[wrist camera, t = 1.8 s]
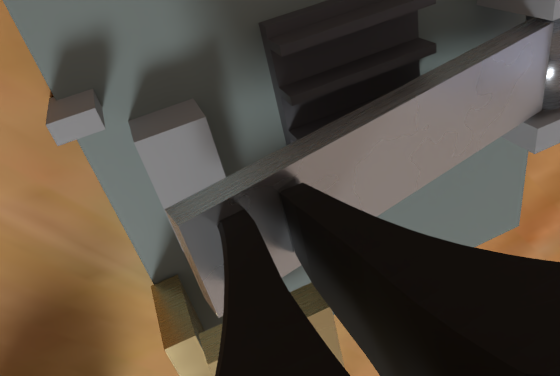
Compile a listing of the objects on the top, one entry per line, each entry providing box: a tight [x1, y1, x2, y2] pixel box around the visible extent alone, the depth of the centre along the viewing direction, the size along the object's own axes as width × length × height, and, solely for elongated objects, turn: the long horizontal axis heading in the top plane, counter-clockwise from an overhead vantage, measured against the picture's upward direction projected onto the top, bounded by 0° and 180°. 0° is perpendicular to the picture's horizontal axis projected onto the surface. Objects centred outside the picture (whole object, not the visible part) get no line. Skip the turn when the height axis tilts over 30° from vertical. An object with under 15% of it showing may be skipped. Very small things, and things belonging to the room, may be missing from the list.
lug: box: [151, 274, 344, 376], centre depth 16 cm, size 5×5×4 cm
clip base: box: [3, 0, 560, 331], centre depth 15 cm, size 17×18×4 cm
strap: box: [165, 15, 560, 318], centre depth 13 cm, size 14×3×2 cm, turn 101°
